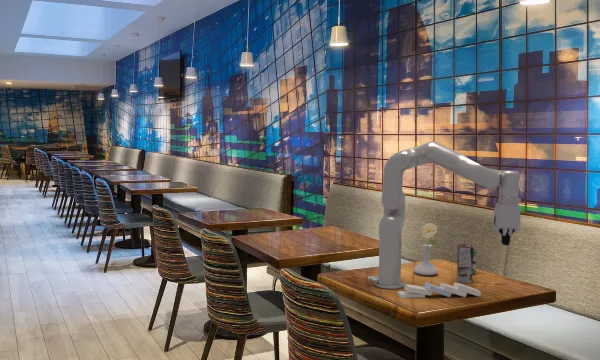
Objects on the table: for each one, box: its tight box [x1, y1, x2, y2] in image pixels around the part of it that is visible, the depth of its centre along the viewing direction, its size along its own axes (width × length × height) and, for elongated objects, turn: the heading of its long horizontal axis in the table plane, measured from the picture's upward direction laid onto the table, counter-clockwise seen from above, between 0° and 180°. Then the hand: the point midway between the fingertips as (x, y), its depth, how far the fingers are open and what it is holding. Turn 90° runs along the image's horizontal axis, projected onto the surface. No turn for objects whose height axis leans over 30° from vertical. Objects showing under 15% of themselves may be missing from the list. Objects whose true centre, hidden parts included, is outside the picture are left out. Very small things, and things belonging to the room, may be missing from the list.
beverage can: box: [472, 247, 477, 276], centre depth 283 cm, size 8×8×12 cm
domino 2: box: [403, 283, 433, 296], centre depth 242 cm, size 2×5×10 cm
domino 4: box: [438, 282, 468, 298], centre depth 244 cm, size 2×5×10 cm
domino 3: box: [423, 281, 453, 298], centre depth 243 cm, size 2×5×10 cm
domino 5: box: [453, 281, 482, 297], centre depth 244 cm, size 2×5×10 cm
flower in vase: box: [413, 222, 439, 276], centre depth 279 cm, size 13×11×25 cm
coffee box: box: [456, 243, 474, 284], centre depth 268 cm, size 9×6×16 cm
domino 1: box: [397, 290, 426, 299], centre depth 243 cm, size 2×5×10 cm
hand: (505, 244), depth 244 cm, fingers closed
